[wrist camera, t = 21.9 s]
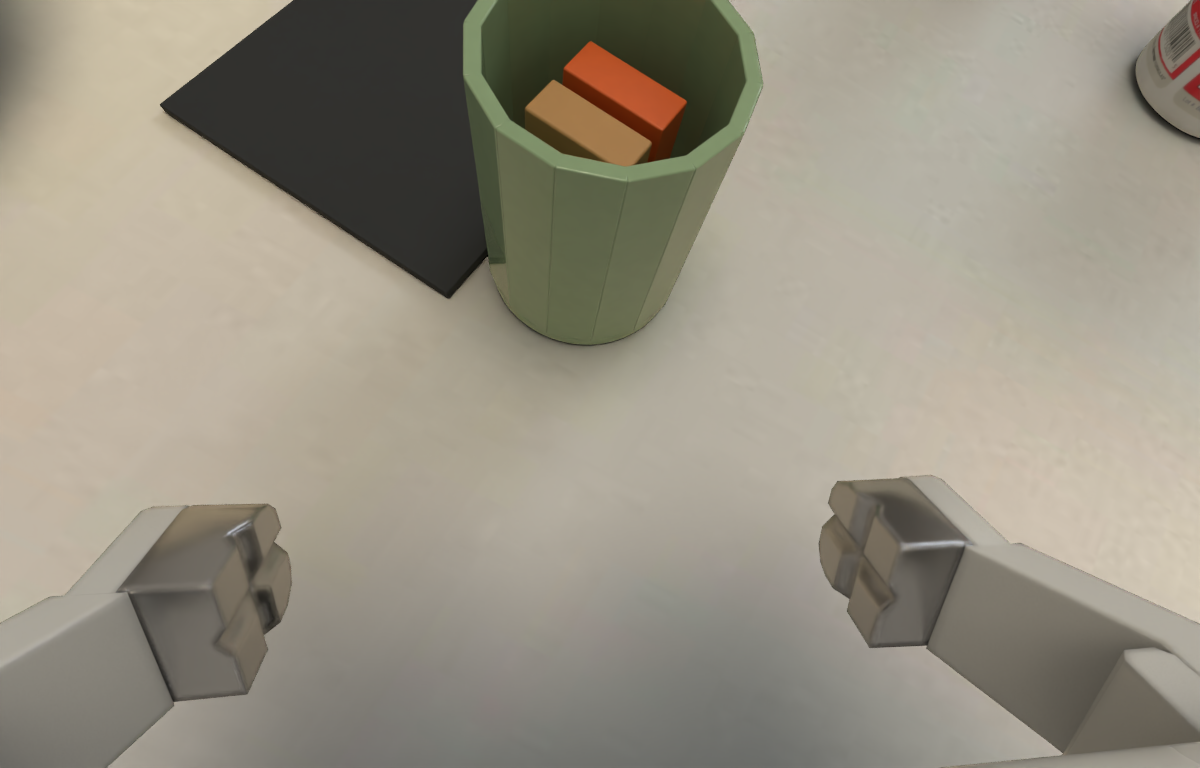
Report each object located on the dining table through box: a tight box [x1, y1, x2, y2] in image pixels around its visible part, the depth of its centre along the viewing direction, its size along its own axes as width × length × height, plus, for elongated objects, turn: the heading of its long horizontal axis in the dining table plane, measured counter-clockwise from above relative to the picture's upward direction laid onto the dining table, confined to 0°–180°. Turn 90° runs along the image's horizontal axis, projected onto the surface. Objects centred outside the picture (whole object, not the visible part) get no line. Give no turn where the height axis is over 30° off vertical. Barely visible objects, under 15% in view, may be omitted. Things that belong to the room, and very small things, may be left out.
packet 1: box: [525, 80, 652, 166], centre depth 18 cm, size 1×3×7 cm, turn 55°
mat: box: [160, 0, 488, 298], centre depth 25 cm, size 20×14×1 cm
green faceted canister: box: [463, 0, 763, 345], centre depth 18 cm, size 7×7×9 cm
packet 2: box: [562, 41, 687, 163], centre depth 18 cm, size 1×3×7 cm, turn 55°
